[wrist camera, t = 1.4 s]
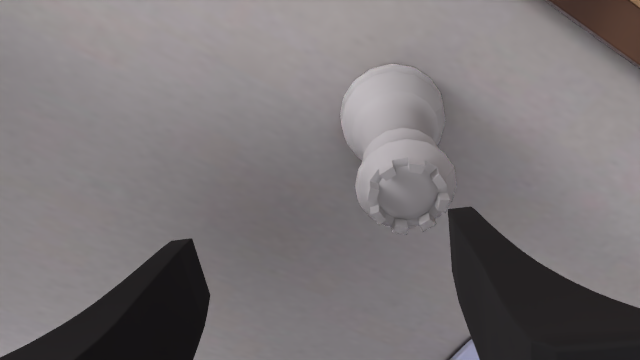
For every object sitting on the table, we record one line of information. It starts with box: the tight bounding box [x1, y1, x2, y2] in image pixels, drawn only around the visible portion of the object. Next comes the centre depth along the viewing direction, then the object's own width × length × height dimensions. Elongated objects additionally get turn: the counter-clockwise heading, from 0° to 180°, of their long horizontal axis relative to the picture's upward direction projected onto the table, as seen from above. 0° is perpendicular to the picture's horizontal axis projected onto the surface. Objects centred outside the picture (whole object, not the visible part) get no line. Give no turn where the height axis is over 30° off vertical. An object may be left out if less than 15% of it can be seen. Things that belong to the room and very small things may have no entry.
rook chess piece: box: [340, 64, 457, 235], centre depth 20 cm, size 4×4×8 cm
